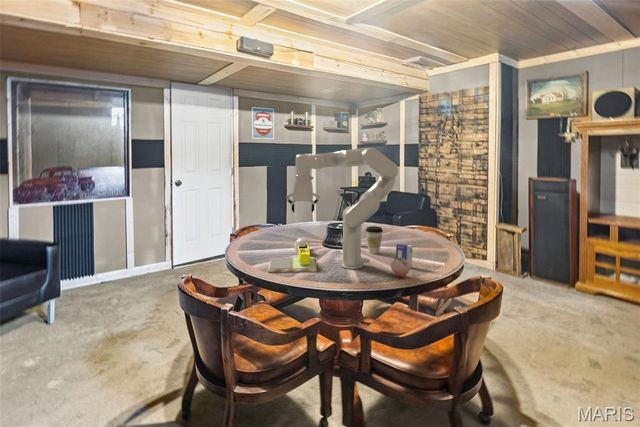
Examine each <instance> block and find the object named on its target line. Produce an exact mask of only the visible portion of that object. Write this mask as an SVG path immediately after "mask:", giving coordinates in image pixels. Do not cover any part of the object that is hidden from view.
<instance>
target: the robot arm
mask: <svg viewBox="0 0 640 427" xmlns="http://www.w3.org/2000/svg"><path fill="white" fill-rule="evenodd" d="M361 166H368V167H370V168H371V169H372V170H373V171H375V172H376V173H378V174H379V176H378V180H377V181H376V182H375V183H373V185H372V186H371V187H370V188H368V189H367V190H366V191H365V192H364V193H362V195H360V196H359V199H358V201H357V203H355V205H349V206H346V207H345V209H344V210H343V213H342V231H343V237H342V260H341V261H340V262H339V266H340V267H341V268H344V269H348V270H351V269H352V270H359V269H361V268H363V267H364V266H365V265H364V263H370V262H371V261H370V260H371V259H370V258H367V257H365V258H364V257H362V225H363V224H364V223H366V221H368V219H369V218H371V217H372V216H373V215H374V214H375V213H376V212H377V211H378V210H379V208H380V206H381V205H380V203H381V202H382V201H383V200H384V199H385V198H386V197H387V196H388V195H389V194H390V192H392V190H393V189H394V186H395V183H396V178H397V177H398V174H399V167H398V165H397V164H396V163H395V162H394V161H393V160H391V159H390V158H388V157H387V156H386V155H384V154H383V153H382V152H380V151H379V150H378V149H377V148H375V147H363V148H354V149H345V150H344V149H343V150H340V151H333V152H332V151H331V152H326V153H325V152H324V153H315V154H299V153H298V154H296V156H295V181H293V188H292V189H293V191H292V192H291V193H289V194H287V195H286V196H285V198H286V200H287V202H288V203H290V205H291V211H292V213H295V203H296V202H310V203H311V206H310V208H311V210H310V211H311V213H314V211H315V205H316V204H317V203H318V202H319V199H320V198H321V196H320V195H318V194H317V193H314V190H313V189H314V187H313V182H312V180H314V176H311V170H312V169H313V170H321V169H324V168H336V167H337V168H351V167H361ZM290 197H292V200H291V199H290ZM314 197H315V198H316V199H314ZM313 199H314V200H313Z"/></svg>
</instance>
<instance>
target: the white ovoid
mask: <svg viewBox="0 0 640 427" xmlns="http://www.w3.org/2000/svg"><path fill="white" fill-rule="evenodd" d="M306 244H308V247H309V250H310V249H311V243H310V240H309V239H308V238H306V237H299V238H297V239H296V240H295V242H294V249H295V251H296V252H297V251H298V246H299V247H302V246H305V245H306Z"/></svg>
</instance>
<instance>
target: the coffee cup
mask: <svg viewBox="0 0 640 427" xmlns="http://www.w3.org/2000/svg"><path fill="white" fill-rule="evenodd" d="M365 232H366V240H367V250H368V254H371V255H378V254H379V253H380V248H381V242H382V233H383V232H384V230H383V228H382V227H381V226H375V225H374V226H372V225H371V226H367V227H366V229H365Z"/></svg>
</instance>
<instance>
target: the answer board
mask: <svg viewBox="0 0 640 427" xmlns="http://www.w3.org/2000/svg"><path fill="white" fill-rule="evenodd" d="M298 259H299V258H298V256H295V257H291V256H290V257H289V256H288V257H287V256H286V257H278V256H277V257H270V260H269V264H268V270H267V272H268V273H312V272H314V273H315V272H316V273H317V265H316V260H315V256H310V264H307V265H302V264H300V262H299V260H298Z"/></svg>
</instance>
